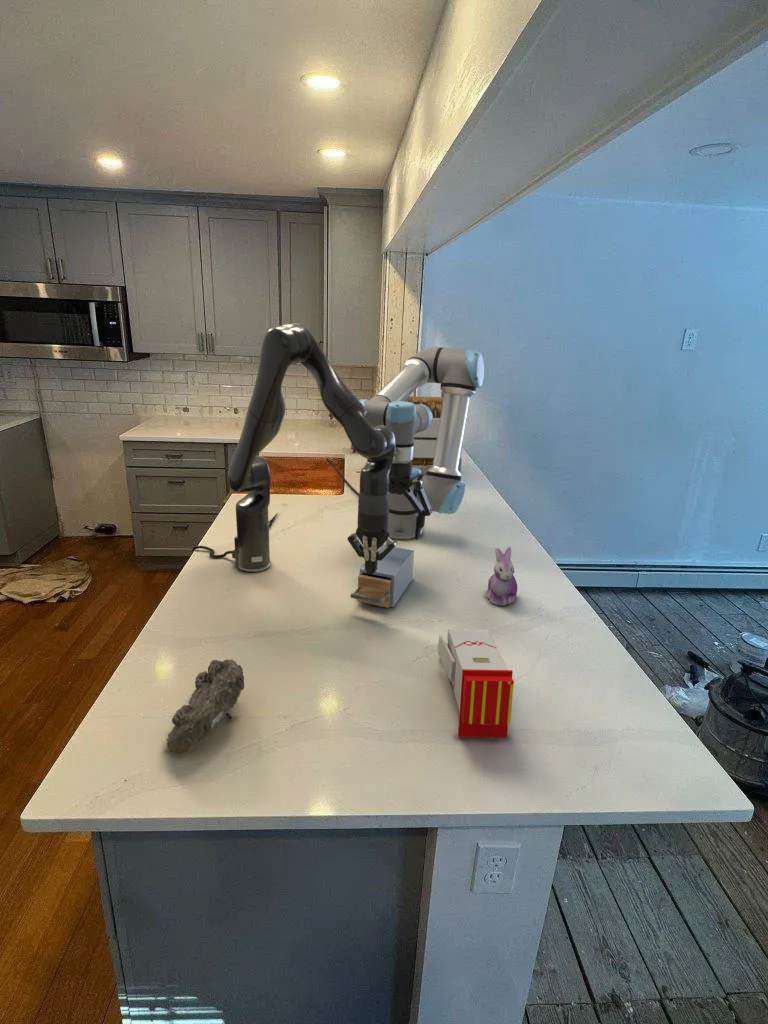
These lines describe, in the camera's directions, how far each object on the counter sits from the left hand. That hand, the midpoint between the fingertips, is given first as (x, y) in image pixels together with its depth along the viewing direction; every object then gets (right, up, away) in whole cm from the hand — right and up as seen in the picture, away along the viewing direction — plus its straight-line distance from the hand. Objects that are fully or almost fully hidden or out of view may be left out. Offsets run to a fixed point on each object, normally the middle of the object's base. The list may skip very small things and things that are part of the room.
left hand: (370, 572), depth 144 cm
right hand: (+6, +9, +16) cm, 19 cm away
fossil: (-29, -24, -36) cm, 52 cm away
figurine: (+36, -9, +14) cm, 40 cm away
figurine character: (-12, +49, +168) cm, 175 cm away
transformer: (+21, +34, +131) cm, 137 cm away
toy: (+21, -22, -25) cm, 40 cm away
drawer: (+2, -7, +11) cm, 13 cm away
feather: (-37, +14, +67) cm, 77 cm away
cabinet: (+4, -6, +16) cm, 18 cm away
